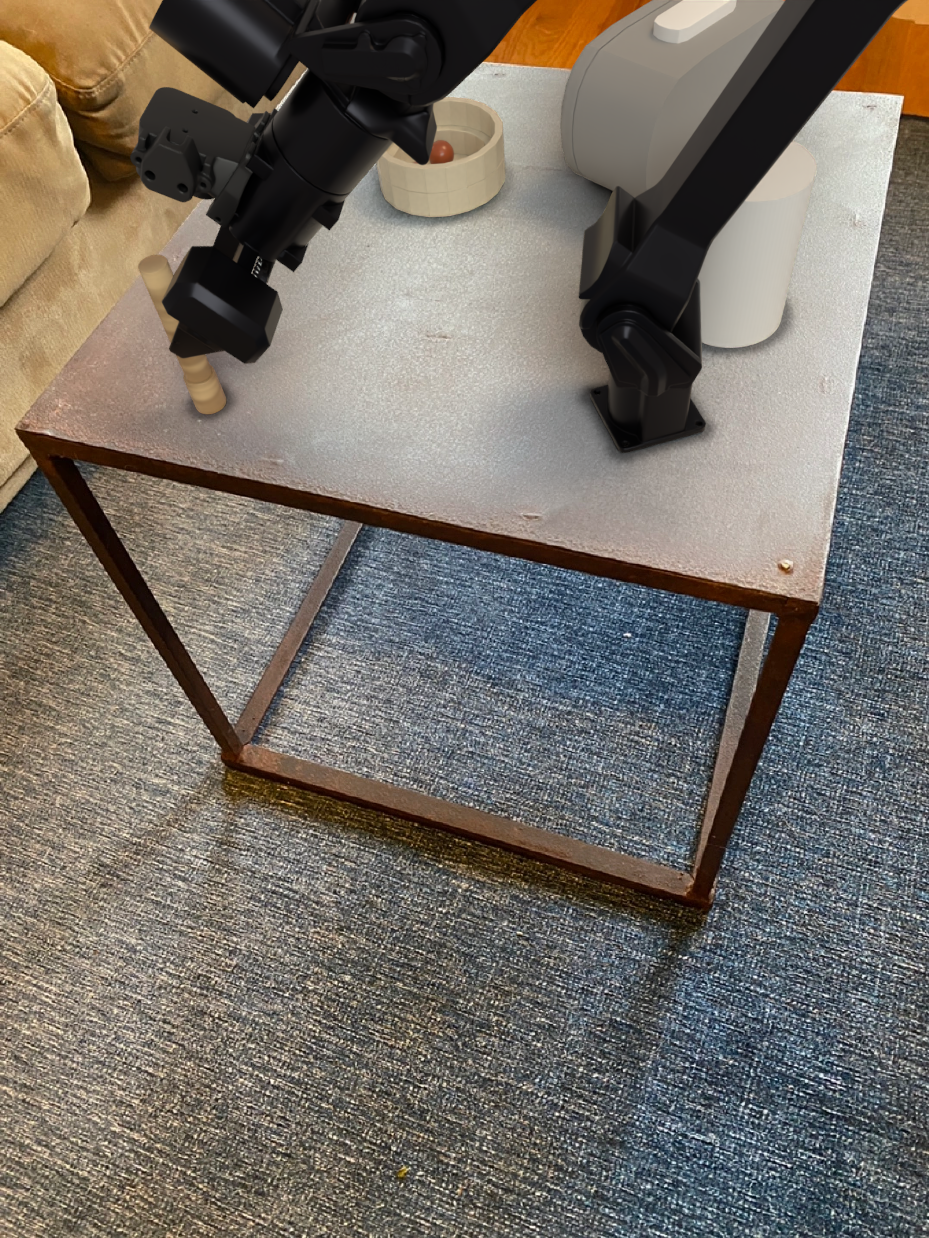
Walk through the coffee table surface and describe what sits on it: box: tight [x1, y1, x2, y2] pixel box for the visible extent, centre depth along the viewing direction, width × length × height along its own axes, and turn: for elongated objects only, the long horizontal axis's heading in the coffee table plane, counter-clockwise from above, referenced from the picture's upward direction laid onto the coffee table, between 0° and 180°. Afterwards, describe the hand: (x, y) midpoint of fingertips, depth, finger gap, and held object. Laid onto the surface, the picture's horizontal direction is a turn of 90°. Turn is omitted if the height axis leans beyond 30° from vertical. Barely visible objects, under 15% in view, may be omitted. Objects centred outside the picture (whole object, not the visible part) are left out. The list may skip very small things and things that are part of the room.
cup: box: [698, 140, 818, 349], centre depth 68 cm, size 8×8×12 cm
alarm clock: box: [559, 0, 785, 197], centre depth 79 cm, size 21×10×13 cm, turn 134°
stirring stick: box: [137, 254, 227, 415], centre depth 67 cm, size 2×2×12 cm
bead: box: [429, 140, 454, 164], centre depth 86 cm, size 2×2×2 cm
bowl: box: [375, 96, 506, 218], centre depth 84 cm, size 11×11×5 cm
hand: (195, 308), depth 65 cm, fingers open, 9 cm apart
